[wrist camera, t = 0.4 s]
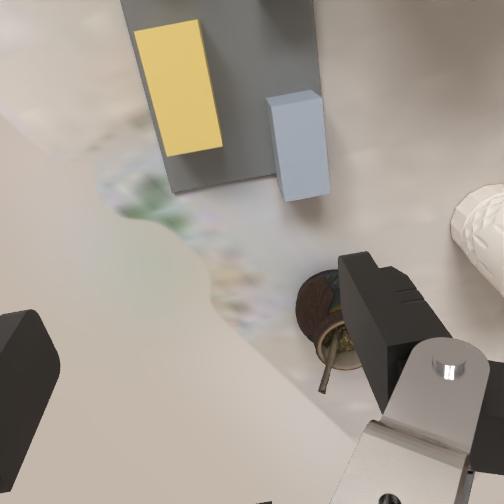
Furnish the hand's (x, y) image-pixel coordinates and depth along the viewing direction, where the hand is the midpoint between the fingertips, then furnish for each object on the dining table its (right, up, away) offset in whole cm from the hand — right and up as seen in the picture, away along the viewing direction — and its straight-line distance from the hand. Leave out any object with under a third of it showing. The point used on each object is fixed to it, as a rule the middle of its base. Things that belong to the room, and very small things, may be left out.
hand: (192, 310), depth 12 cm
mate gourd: (+9, -2, +31) cm, 33 cm away
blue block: (+5, +10, +23) cm, 26 cm away
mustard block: (-3, +14, +21) cm, 25 cm away
